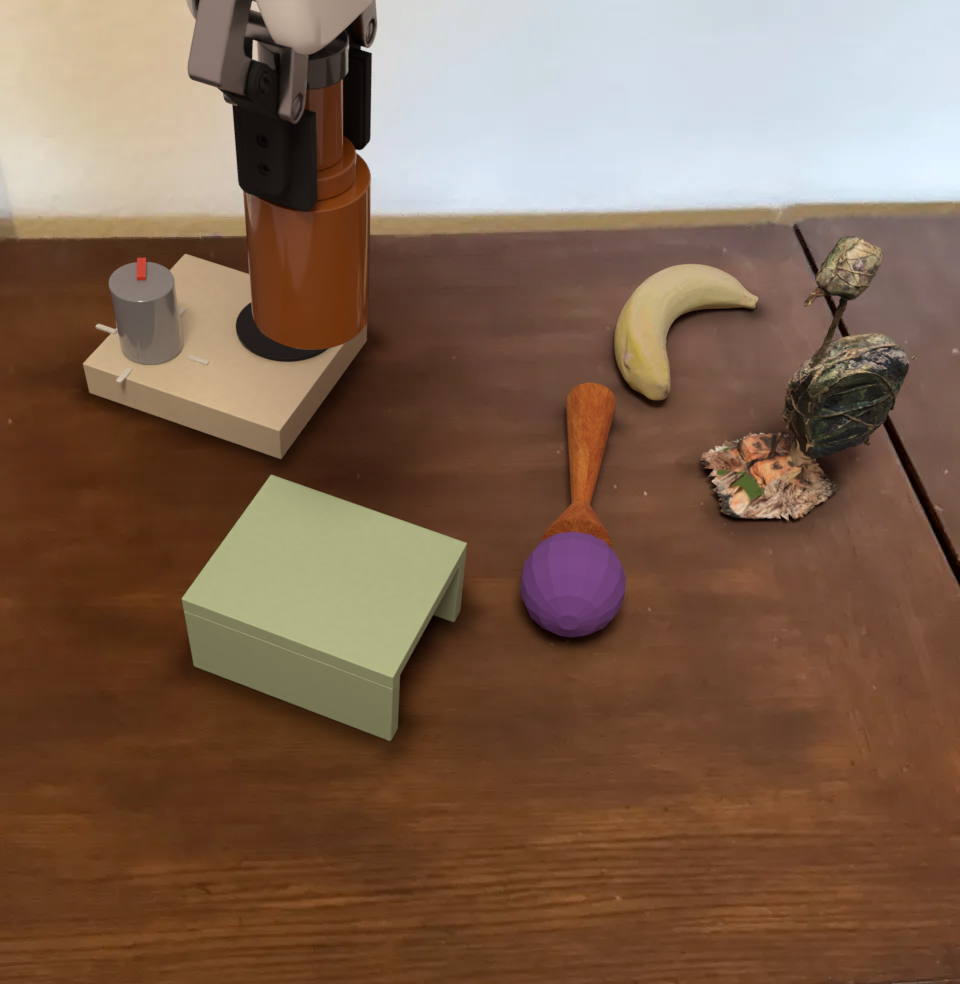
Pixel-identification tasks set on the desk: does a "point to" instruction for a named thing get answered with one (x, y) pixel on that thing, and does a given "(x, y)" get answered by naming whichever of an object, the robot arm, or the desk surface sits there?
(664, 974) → the desk surface
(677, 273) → the fruit
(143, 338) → the hob knob
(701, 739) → the desk surface
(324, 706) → the shelf
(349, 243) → the spice bottle
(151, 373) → the hob
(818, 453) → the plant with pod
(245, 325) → the burner
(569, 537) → the kendama
